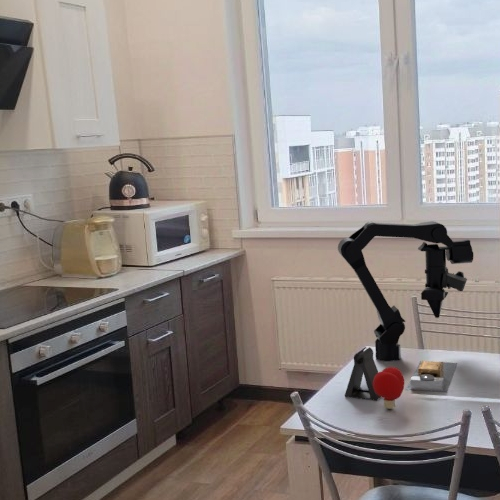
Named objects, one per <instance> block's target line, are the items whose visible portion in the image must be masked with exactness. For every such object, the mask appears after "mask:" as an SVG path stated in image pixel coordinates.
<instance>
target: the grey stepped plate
mask: <svg viewBox="0 0 500 500" xmlns="http://www.w3.org/2000/svg"><path fill="white" fill-rule="evenodd" d="M422 361H423V360H420V361H419V362H418V365H417V367H416V369H415V370H414V373H413V374H412V376H411V378H410V381H409V383H408V384H407V387H406V388H405V391H417V392H418V391H419V392H429V393H430V392H433V393H434V394H433V393H432V395H436V393H448V391H449V388H450V385H451V383H452V380H453V376H454V374H455V371H456V369H457V365H458V362H447V361H442V362H443V374H444V376H443V378H438V377H437V373H426V374H424V375H420V376H418V368H419V366H420V364H421V362H422ZM417 394H419V395H420V393H417Z"/></svg>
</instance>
